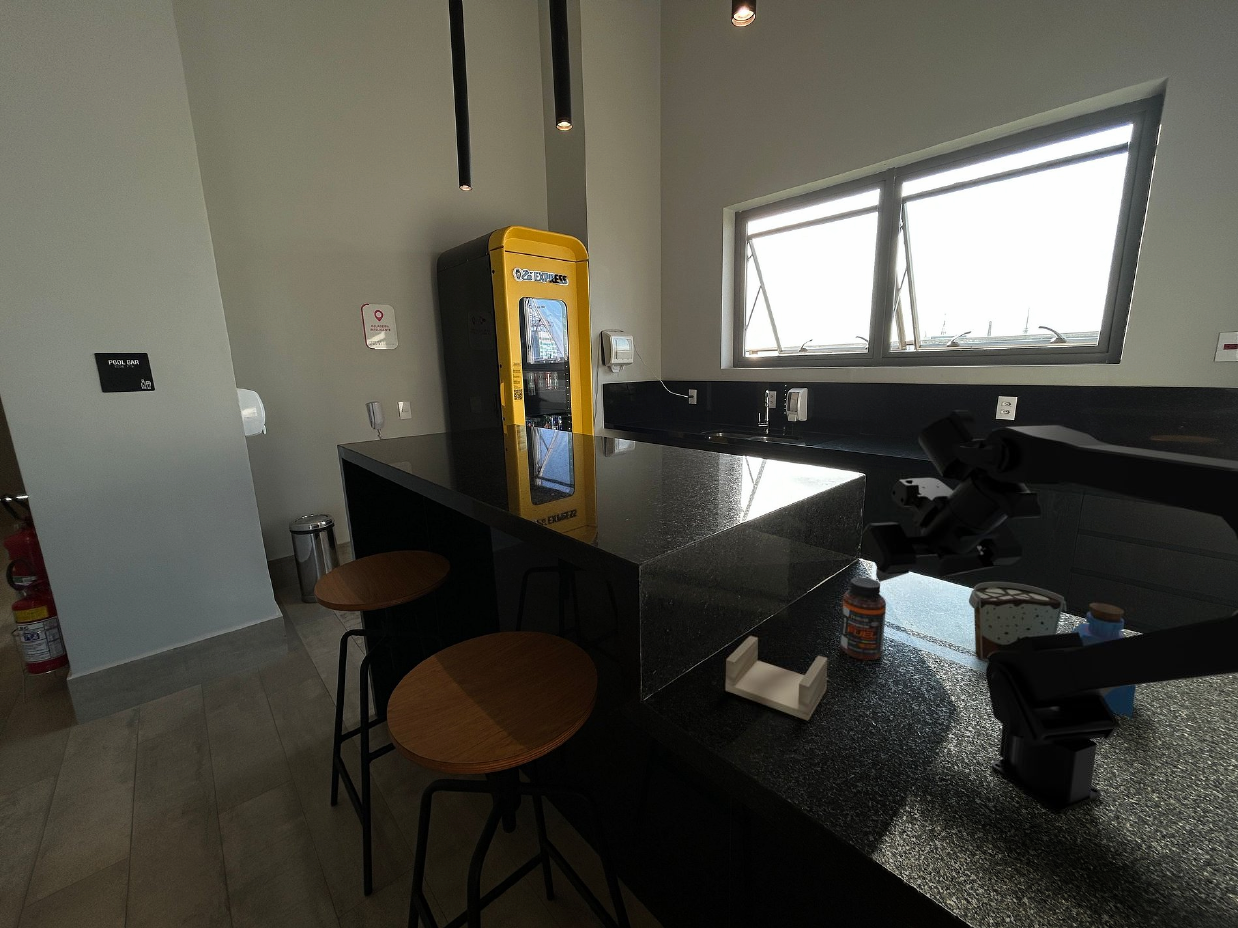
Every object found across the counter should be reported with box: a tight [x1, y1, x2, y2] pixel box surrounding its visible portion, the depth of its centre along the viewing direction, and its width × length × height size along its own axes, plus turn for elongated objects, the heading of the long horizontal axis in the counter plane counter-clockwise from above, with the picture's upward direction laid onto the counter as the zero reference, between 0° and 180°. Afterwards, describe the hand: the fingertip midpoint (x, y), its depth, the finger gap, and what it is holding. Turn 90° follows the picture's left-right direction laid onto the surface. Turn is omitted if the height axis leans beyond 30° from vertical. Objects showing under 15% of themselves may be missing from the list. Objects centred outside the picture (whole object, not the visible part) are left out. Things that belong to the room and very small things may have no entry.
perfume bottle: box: [1069, 602, 1137, 717], centre depth 66 cm, size 6×6×12 cm
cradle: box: [725, 635, 828, 721], centre depth 69 cm, size 11×8×4 cm
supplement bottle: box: [839, 576, 887, 661], centre depth 77 cm, size 6×6×11 cm
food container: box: [968, 581, 1067, 662], centre depth 77 cm, size 12×6×10 cm, turn 84°
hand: (909, 575), depth 72 cm, fingers open, 9 cm apart
